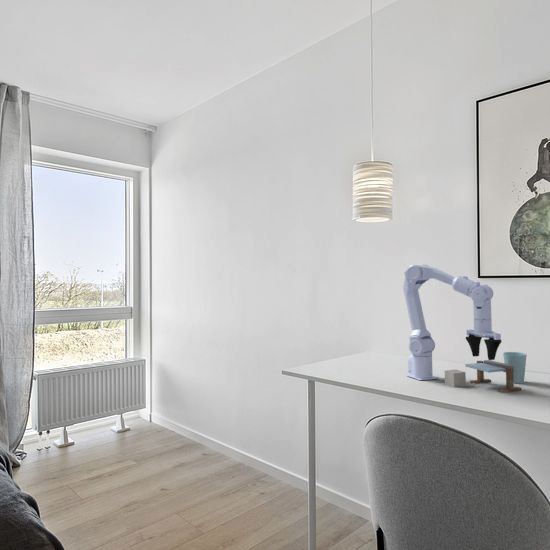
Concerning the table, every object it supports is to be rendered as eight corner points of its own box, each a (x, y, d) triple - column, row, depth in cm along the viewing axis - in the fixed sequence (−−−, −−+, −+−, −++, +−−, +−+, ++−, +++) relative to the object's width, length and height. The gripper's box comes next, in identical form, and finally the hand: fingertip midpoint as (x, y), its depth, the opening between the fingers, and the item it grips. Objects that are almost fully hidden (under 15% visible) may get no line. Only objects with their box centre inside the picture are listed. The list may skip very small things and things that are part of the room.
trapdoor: (465, 368, 165) (465, 362, 165) (489, 366, 168) (489, 360, 168) (488, 375, 153) (488, 367, 153) (514, 372, 156) (513, 365, 156)
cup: (502, 382, 166) (501, 354, 166) (505, 378, 173) (504, 351, 173) (525, 385, 162) (525, 355, 162) (527, 381, 168) (527, 352, 169)
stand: (470, 382, 167) (469, 361, 167) (487, 380, 170) (487, 360, 170) (502, 392, 152) (501, 369, 153) (521, 390, 155) (520, 367, 155)
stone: (444, 384, 166) (444, 370, 167) (456, 383, 168) (456, 369, 168) (453, 387, 162) (453, 373, 162) (465, 386, 163) (465, 372, 163)
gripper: (507, 320, 154) (508, 360, 154) (477, 317, 168) (478, 354, 168) (490, 321, 152) (491, 362, 152) (461, 318, 166) (462, 355, 166)
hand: (483, 357), depth 160 cm, fingers open, 7 cm apart
